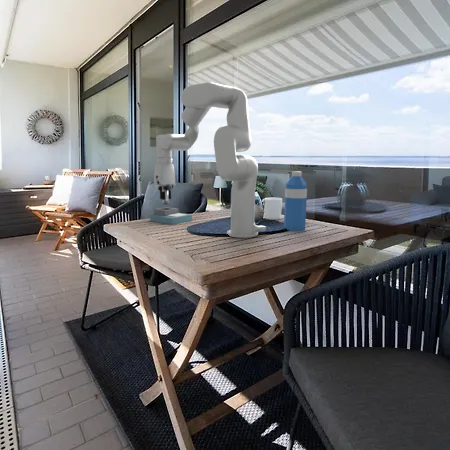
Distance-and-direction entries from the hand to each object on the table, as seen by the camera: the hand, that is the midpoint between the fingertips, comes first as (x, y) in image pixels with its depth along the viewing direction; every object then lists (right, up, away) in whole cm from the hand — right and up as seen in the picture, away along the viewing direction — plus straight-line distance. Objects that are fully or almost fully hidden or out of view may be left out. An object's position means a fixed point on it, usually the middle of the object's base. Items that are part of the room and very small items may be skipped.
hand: (165, 198), depth 168 cm
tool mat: (+6, -8, -4) cm, 11 cm away
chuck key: (0, -3, +1) cm, 3 cm away
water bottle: (+60, -15, -18) cm, 64 cm away
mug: (+53, -10, +7) cm, 54 cm away
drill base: (+2, -11, 0) cm, 11 cm away
